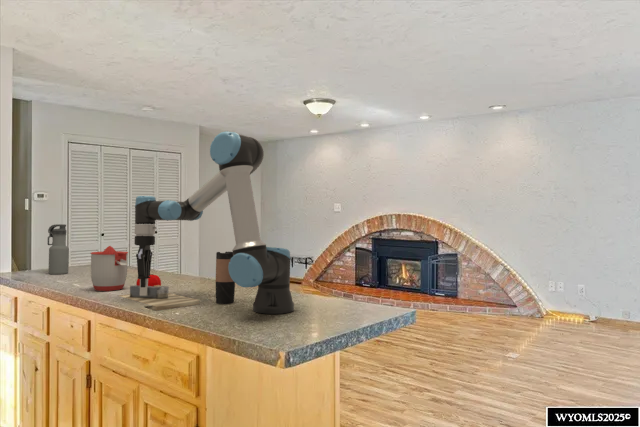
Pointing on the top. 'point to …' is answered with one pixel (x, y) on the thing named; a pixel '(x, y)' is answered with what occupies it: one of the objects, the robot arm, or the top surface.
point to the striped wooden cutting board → (165, 301)
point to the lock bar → (150, 292)
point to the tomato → (151, 280)
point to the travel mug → (224, 279)
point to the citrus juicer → (108, 269)
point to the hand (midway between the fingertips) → (143, 295)
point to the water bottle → (58, 250)
